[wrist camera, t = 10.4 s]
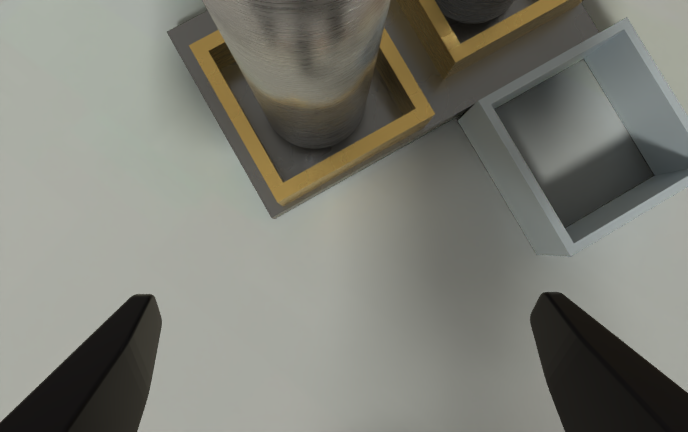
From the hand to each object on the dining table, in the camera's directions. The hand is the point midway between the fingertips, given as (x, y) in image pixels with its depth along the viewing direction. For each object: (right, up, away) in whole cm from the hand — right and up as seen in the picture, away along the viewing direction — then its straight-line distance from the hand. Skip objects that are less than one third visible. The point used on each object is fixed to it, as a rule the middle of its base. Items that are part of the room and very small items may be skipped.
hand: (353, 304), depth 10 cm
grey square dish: (+11, +5, +11) cm, 16 cm away
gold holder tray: (+2, +11, +11) cm, 16 cm away
